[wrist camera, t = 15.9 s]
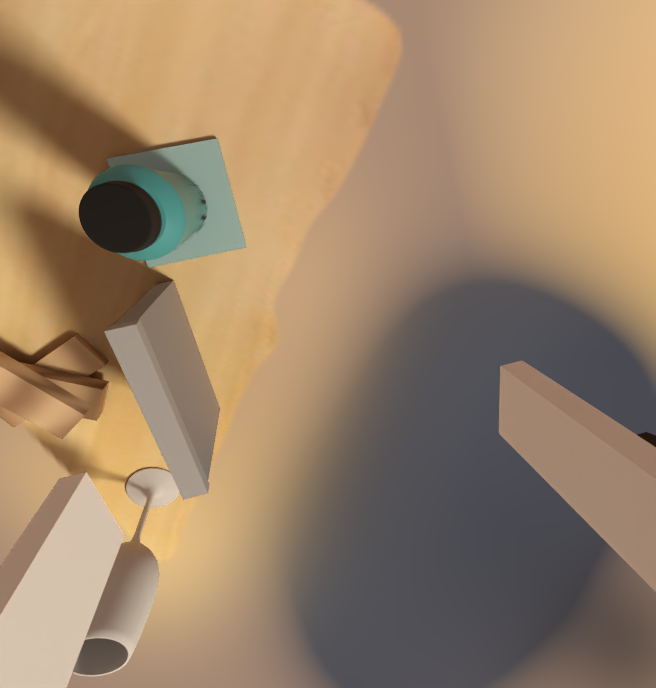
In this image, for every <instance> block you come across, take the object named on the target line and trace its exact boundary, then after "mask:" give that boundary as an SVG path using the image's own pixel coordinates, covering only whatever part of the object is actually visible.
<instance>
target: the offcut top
mask: <svg viewBox="0 0 656 688" xmlns="http://www.w3.org/2000/svg"><path fill="white" fill-rule="evenodd" d="M0 406H1V407H3V408H5V409H7V410H9V411H11V412H13V413H14V414H16V415H18V416H20V417H22V418H24V419H26V420H27V421H29V422H31V423H33V424H35V425H37V426H39V427H40V428H42V429H44V430H46V431H48V432H50V433H51V434H53V435H55V436H57V437H59V438H61V439H63V438H64V437H65V436H66V435H67V434H68V432H69V431H70V430H71V429H72V428H73V427H74V426H75V425H76V424H77V423H78V422H79V421H80V420H81V419H82V418H83V417H84V416H85V414H86V413H87V412H88V410H89V409H90V408H91V405H90V404H88V403H86V402H85V401H83V400H81V399H80V398H78V397H76V396H75V395H73V394H71V393H70V392H68V391H66V390H65V389H63V388H61V387H60V386H58V385H56V384H55V383H53V382H51V381H50V380H48V379H46V378H45V377H43V376H41V375H40V374H38V373H36V372H34V371H33V370H31V369H29V368H28V367H26V366H24V365H23V364H21V363H19V362H18V361H16V360H14V359H13V358H11V357H9V356H8V355H6V354H4V353H3V352H1V351H0Z"/></svg>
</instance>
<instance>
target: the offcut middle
mask: <svg viewBox="0 0 656 688" xmlns="http://www.w3.org/2000/svg"><path fill="white" fill-rule="evenodd" d="M19 363H21V364H23V365H24V366H26V367H28V368H29V369H31V370H33V371H34V372H36V373H38V374H40V375H41V376H43V377H45V378H46V379H48V380H50V381H51V382H53V383H55V384H56V385H58V386H60V387H61V388H63V389H65V390H66V391H68V392H70V393H71V394H73V395H75V396H76V397H78V398H80V399H81V400H83V401H85V402H86V403H88V404H90V405H91V408H90V409H89V410H88V412H87V413H86V414H85V416H84V417H83V418H85V419H90V420H96V421H97V419H98V418H99V417H100V415H101V414H102V412H103V409H104V404H105V399H106V394H107V389H108V384H109V381H105V380H100V379H95V378H91V377H86V376H82V375H77V374H72V373H68V372H63V371H59V370H54V369H50V368H45V367H40V366H36V365H31V364H27V363H22V362H19Z"/></svg>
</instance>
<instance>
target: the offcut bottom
mask: <svg viewBox="0 0 656 688" xmlns="http://www.w3.org/2000/svg"><path fill="white" fill-rule="evenodd" d="M107 362H108V361H107V360H106V359H105V358H104V357H103V356H102V355H101V354H100V353H99V352H97V351H96V350H95V349H94V348H93V347H92V346H91V345H90V344H89V343H88V342H87V341H86V340H85V339H84V338H83V337H81V336H80V335H79V334H76V335H75V336H73V337H72V338H70V339H69V340H67V341H66V342H65V343H63V344H62V345H60V346H59V347H57V348H56V349H55V350H53V351H52V352H50V353H49V354H47V355H46V356H45V357H43V358H42V359H40V360H39V361H37V362H36V363H35V364H33V365H36V366H40V367H45V368H50V369H54V370H59V371H63V372H68V373H72V374H77V375H82V376H86V377H88V376H89V375H91V374H92V373H94V372H95V371H97V370H98V369H100V368H101V367H102V366H104V365H105V364H106V363H107ZM0 418H2V419H3V420H5V421H6V422H7V423H9V424H10V425H11V426H13V427H15V426H16V425H18V424H19V423H21V422H22V421H24V420H25V419H24V418H22V417H20V416H18V415H16V414H14V413H13V412H11V411H9V410H7V409H5V408H3V407H1V406H0Z"/></svg>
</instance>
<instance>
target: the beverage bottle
mask: <svg viewBox="0 0 656 688" xmlns="http://www.w3.org/2000/svg"><path fill="white" fill-rule="evenodd" d="M173 172H174V171H173ZM183 175H184V176H183ZM183 175H181V174H177V173H171V172H165V171H157V170H153V169H149V168H146V167H143V166H139V165H133V164H121V165H115V166H112V167H109V168H107V169H105V170H104V171H102V172H101V173H99V174H98V175H97V176H96V177H95V179H94V180H93V181H92V183H91V185H90V187H89V189H88V191H87V192H86V193H85V194H84V196H83V198H82V199H81V202H80V205H79V218H80V223H81V225H82V227H83V229H84V231H85V233H86V234H87V235H88V237H89V238H90V239H91V240H92V241H93V242H94V243H96V244H97V245H98V246H100V247H102V248H104V249H106V250H108V251H111V252H115V253H118V254H119V255H122V256H124V257H127V258H130V259H134V260H142V261H147V260H155V259H158V258H161V257H163V256H166V255H167V254H169V253H170V252H172V251H173V250H174V249H175V248H176V247H177V246H178V245H180V244H181V243H183V242H184V241H185V240H186V241H187V239H190V238H189V237H190V236H191V235H193V234H194V233H195V232H197V231H199V230H200V229H201V228H202V227H203V225H205V224H203V223H204V221H205V219H206V216H207V215H206V213H207V211H208V209H207V207H206V200H205V199H206V198H205V197H204V195H203V193H202V191H201V190H200V189H199V187H200V186H199V185H196V184H195V183H194V182H193V181H191V180H190V179H191V178H190V179H189V178H187V177H188V176H187V177H185V176H186V175H185V174H183ZM192 180H193V179H192ZM198 186H199V187H198ZM207 205H208V204H207ZM206 220H207V219H206ZM201 226H202V227H201ZM197 233H198V232H197ZM192 237H193V236H192ZM192 237H191V238H192ZM179 247H180V246H179ZM175 250H176V249H175Z"/></svg>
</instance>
